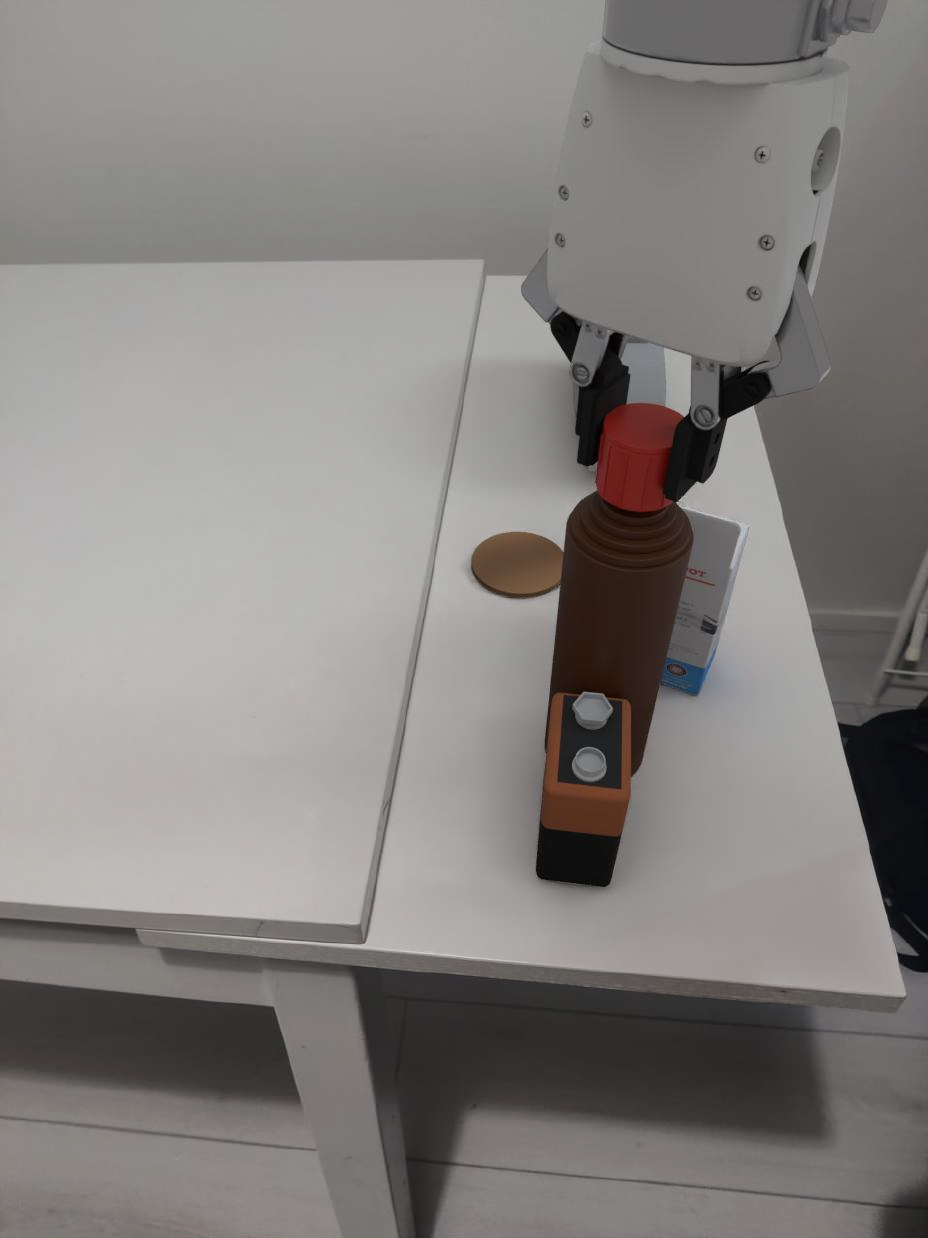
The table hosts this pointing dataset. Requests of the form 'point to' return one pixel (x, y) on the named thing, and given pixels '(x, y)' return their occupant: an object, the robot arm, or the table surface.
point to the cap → (636, 456)
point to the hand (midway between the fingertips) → (640, 465)
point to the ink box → (703, 599)
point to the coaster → (518, 564)
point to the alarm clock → (641, 375)
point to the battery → (584, 788)
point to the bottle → (619, 606)
